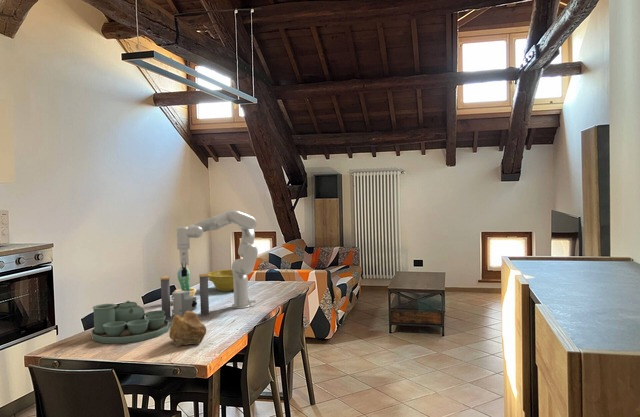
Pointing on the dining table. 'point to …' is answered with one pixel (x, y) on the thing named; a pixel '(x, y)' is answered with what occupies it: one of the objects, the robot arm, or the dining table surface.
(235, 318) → the dining table surface
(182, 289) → the potted cactus
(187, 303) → the circuit breaker
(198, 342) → the rough brown rock
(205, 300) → the post
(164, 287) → the post
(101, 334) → the tea set
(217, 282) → the planter bowl
